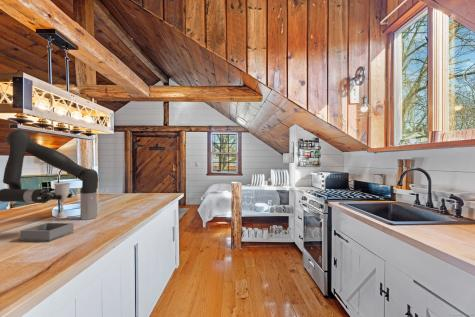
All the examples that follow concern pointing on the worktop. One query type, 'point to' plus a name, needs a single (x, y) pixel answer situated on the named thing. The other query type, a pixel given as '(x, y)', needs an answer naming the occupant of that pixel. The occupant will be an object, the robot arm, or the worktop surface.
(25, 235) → the box
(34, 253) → the worktop surface
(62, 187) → the chalice
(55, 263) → the worktop surface
